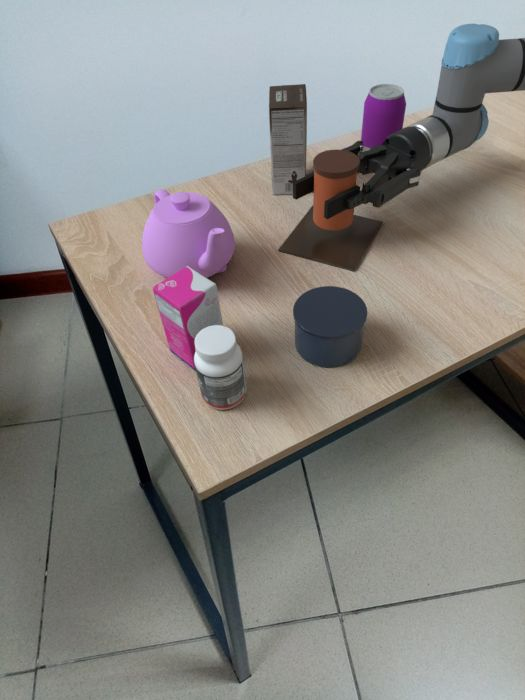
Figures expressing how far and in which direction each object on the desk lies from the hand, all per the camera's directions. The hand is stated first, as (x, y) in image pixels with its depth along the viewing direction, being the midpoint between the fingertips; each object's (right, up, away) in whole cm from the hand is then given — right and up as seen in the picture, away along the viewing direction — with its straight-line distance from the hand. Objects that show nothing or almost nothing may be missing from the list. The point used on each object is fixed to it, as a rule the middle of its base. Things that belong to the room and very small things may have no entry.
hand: (310, 200), depth 79 cm
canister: (+4, -1, +6) cm, 7 cm away
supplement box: (-16, -22, -7) cm, 28 cm away
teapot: (-18, -10, +5) cm, 21 cm away
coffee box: (-2, +9, +21) cm, 23 cm away
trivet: (+4, -4, +9) cm, 10 cm away
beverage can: (+16, +17, +27) cm, 36 cm away
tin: (+2, -21, -8) cm, 23 cm away
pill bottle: (-12, -28, -12) cm, 33 cm away
